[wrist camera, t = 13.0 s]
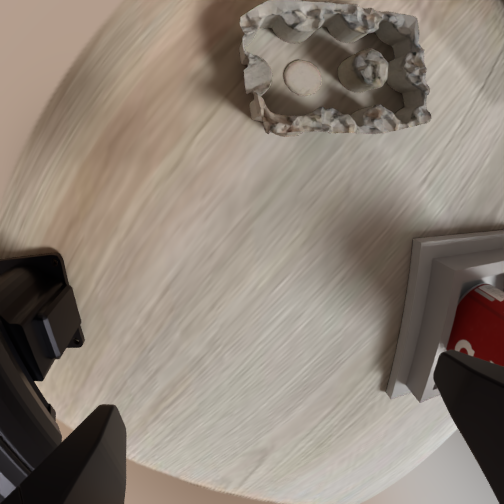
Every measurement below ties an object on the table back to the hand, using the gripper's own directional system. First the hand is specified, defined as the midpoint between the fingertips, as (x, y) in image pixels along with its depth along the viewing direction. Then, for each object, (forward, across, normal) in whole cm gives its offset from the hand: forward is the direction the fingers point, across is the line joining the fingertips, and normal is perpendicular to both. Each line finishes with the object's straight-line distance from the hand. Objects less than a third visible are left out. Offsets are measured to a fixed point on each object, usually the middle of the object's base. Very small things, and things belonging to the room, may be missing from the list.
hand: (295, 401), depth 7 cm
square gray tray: (+12, -19, +7) cm, 24 cm away
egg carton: (+12, -6, -10) cm, 17 cm away
